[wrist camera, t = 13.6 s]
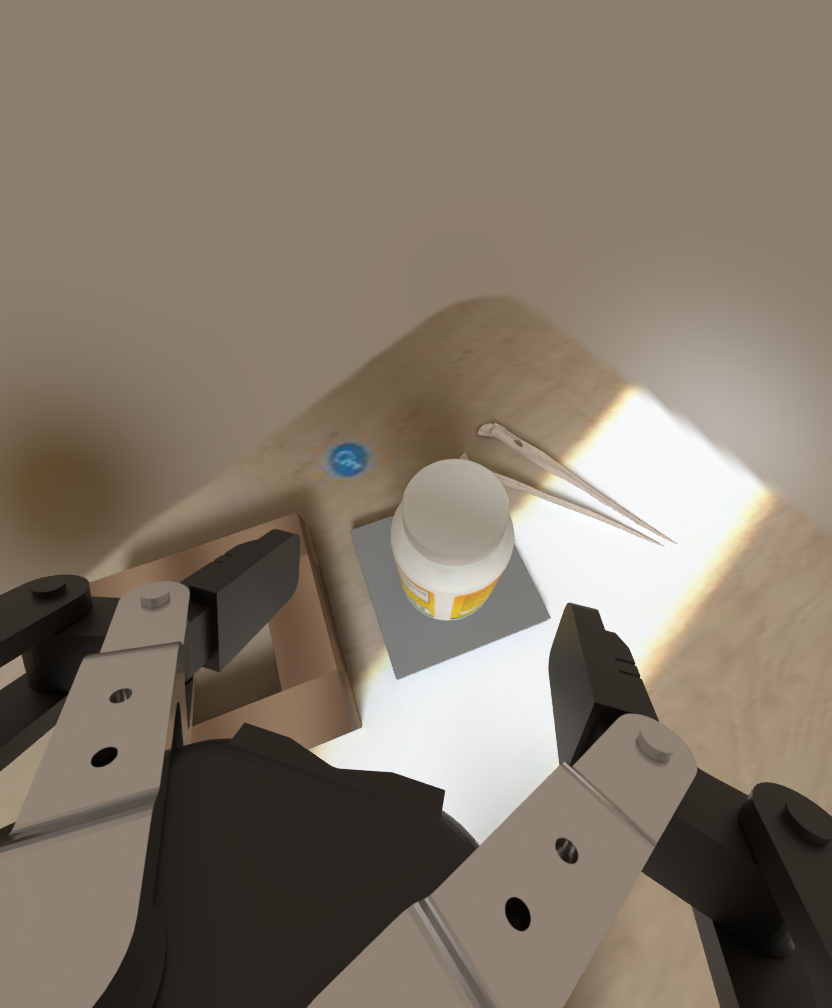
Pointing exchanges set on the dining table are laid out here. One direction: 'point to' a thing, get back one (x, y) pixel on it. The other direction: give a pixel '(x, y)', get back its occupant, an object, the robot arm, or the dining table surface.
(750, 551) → the dining table surface
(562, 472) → the animal jaw bone
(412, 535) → the supplement bottle
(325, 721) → the brown square frame
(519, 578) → the coaster pad
